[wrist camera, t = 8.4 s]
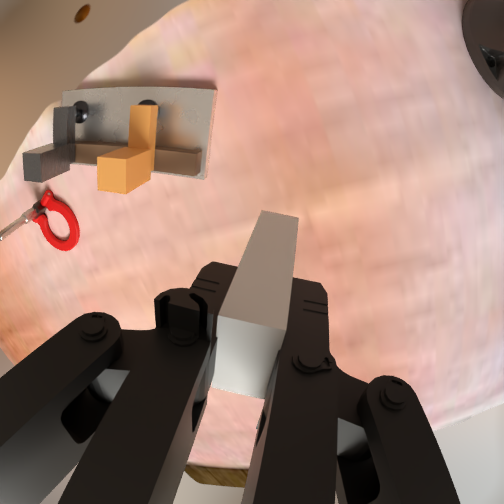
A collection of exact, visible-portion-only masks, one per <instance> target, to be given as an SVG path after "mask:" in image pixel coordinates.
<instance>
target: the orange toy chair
mask: <svg viewBox="0 0 504 504" xmlns="http://www.w3.org/2000/svg"><path fill="white" fill-rule="evenodd" d="M158 116H159V110H158V105H131V106H130V120H129V138H128V147H123V148H120V149H117V150H114V151H112V152H109V153H106V154H103V155H101V156H98V157H97V180H98V190H100V191H107V192H114V193H120V194H127V193H129V192H131V191H132V190H134V189H135V188H137V187H139V186H140V185H142V184H144V183H145V182H147V181H149V180H150V175H151V171H153V170H154V157H155V140H156V127H157V117H158Z"/></svg>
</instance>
